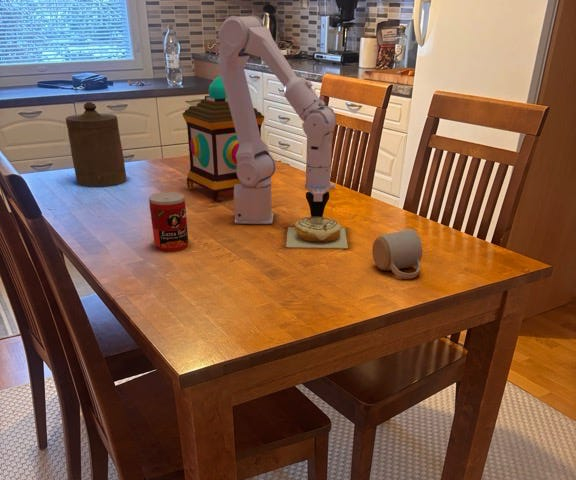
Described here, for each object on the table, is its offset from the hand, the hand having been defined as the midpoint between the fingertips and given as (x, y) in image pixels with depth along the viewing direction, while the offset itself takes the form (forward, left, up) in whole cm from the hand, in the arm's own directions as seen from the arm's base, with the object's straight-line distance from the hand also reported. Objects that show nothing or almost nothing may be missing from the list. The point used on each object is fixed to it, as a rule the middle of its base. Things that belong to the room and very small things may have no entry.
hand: (316, 223), depth 142 cm
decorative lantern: (-26, +32, -2) cm, 42 cm away
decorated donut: (0, -6, -1) cm, 7 cm away
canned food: (-33, -14, -2) cm, 36 cm away
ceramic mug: (+17, -26, -2) cm, 31 cm away
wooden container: (-66, +42, -2) cm, 79 cm away
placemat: (0, -7, -1) cm, 7 cm away
